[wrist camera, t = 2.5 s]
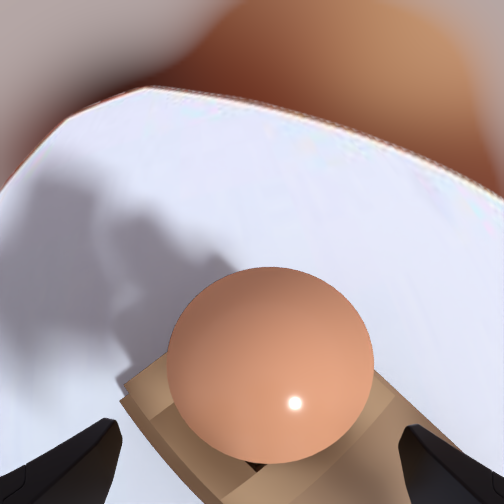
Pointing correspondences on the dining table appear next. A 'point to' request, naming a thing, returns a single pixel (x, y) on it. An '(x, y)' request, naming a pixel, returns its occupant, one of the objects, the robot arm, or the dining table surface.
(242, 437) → the plug
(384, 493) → the wooden socket base
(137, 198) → the dining table surface
